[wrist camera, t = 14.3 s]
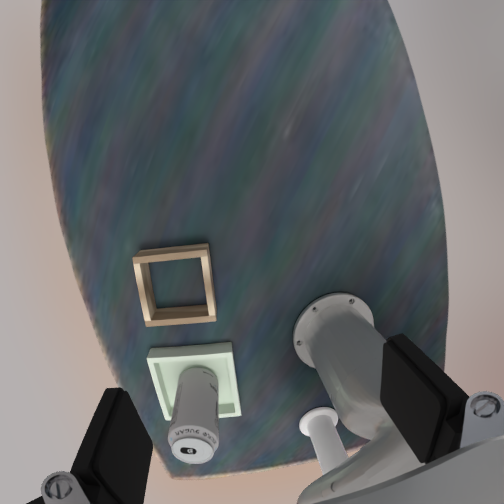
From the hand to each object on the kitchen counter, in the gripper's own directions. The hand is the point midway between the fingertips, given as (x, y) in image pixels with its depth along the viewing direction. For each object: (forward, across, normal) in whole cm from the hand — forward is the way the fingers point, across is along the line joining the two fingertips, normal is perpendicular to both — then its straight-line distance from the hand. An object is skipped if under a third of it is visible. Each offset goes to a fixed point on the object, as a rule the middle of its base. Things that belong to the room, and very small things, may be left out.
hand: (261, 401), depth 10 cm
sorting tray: (+32, +9, +21) cm, 39 cm away
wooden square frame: (+32, +8, +5) cm, 33 cm away
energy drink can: (+31, +9, +21) cm, 39 cm away
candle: (+32, -9, +35) cm, 48 cm away
